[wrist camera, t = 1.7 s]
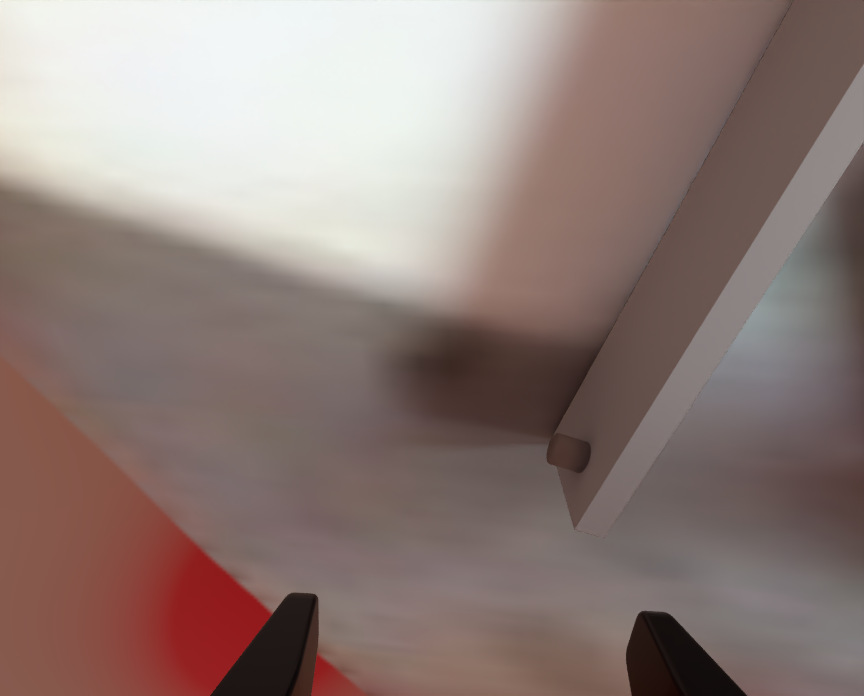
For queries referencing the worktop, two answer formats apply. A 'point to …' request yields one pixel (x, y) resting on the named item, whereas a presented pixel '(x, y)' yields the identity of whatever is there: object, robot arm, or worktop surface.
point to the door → (717, 256)
